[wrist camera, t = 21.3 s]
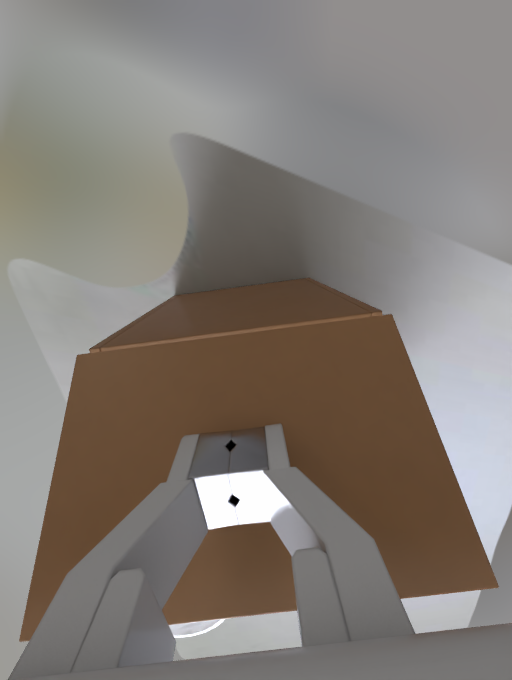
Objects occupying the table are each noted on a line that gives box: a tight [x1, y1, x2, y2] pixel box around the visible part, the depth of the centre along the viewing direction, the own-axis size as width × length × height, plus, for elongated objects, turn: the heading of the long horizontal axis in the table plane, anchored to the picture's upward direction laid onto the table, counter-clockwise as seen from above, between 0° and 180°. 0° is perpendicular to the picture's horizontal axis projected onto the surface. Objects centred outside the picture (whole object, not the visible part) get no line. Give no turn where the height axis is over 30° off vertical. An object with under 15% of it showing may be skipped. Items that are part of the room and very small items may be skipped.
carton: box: [89, 278, 382, 353], centre depth 20 cm, size 17×13×14 cm
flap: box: [19, 314, 499, 642], centre depth 8 cm, size 8×13×1 cm
